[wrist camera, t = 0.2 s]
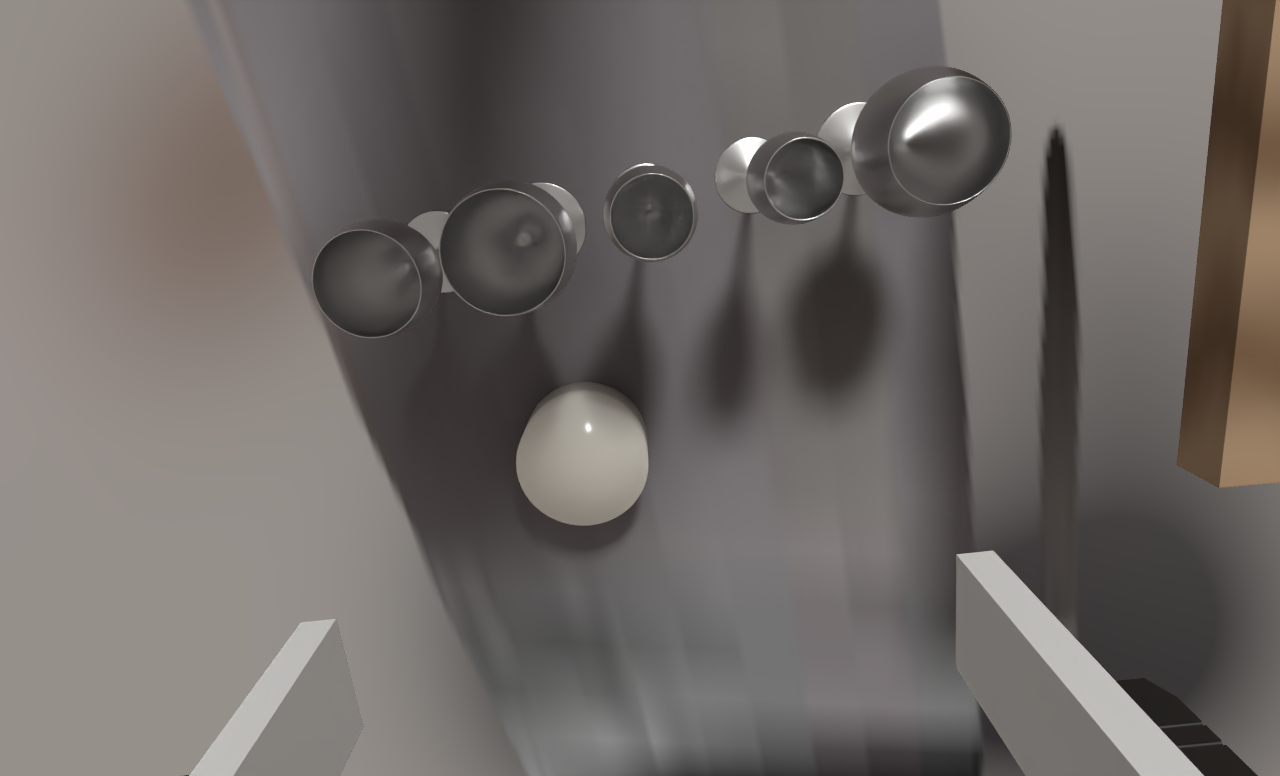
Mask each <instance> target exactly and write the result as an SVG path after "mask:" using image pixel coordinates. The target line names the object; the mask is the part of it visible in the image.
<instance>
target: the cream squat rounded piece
mask: <svg viewBox="0 0 1280 776" xmlns="http://www.w3.org/2000/svg"><path fill="white" fill-rule="evenodd" d="M648 467H649V466H648V444H647V431H646V426H645V423H644V420H643V418H642V416H641V414H640V412H639V410H638V409H637V407H636V406H635V405H634V404H633V402H632V401H631V400H630V399H629V398H628V397H626V396H625V395H624V394H623V393H621V392H620V391H618V390H616V389H614V388H612V387H610V386H607V385H604V384H600V383H595V382H577V383H571V384H568V385H564V386H562V387H560V388H557V389H555V390H554V391H552V392H551V393H549V394H548V395H547V396H545V397H544V398H543V399H542V400H541V401H540V402H539V403H538V405H537V406H536V408H535V409H534V411H533V412H532V414H531V416H530V419H529V421H528V424H527V426H526V428H525V431H524V433H523V436H522V438H521V440H520V443H519V446H518V450H517V455H516V470H517V475H518V480H519V482H520V485H521V488H522V489H523V491H524V493H525V495H526V496H527V498H528V499H529V500H530V502H531V503H532V504H533V505H534V506H535V507H536V508H537V509H539V510H540V511H541V512H542V513H544V514H545V515H547V516H549V517H550V518H553V519H555V520H557V521H560V522H563V523H566V524H571V525H580V526H586V525H596V524H600V523H604V522H607V521H610V520H612V519H614V518H616V517H618V516H619V515H621V514H623V513H624V512H625V511H626V510H628V509H629V508H630V507H631V506H632V505H633V504H634V503H635V501H636V500H637V499H638V497H639V496H640V494H641V492H642V491H643V488H644V486H645V483H646V480H647V476H648Z"/></svg>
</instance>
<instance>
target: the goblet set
mask: <svg viewBox="0 0 1280 776" xmlns="http://www.w3.org/2000/svg"><path fill="white" fill-rule="evenodd" d="M1010 144H1011V123H1010V119H1009V115H1008V112H1007V109H1006V107H1005V106H1004V103H1003V101H1002V100H1001V98H1000V97H999V96H998V95H997V93H996V92H995V91H994V90H993V89H992V88H991V87H989V86H988V85H987V84H986V83H984V82H983V81H981V80H980V79H979V78H977V77H975V76H973V75H972V74H970V73H967V72H965V71H962V70H959V69H955V68H951V67H942V66H931V67H923V68H918V69H914V70H911V71H908V72H905V73H903V74H901V75H899V76H897V77H895V78H893V79H891V80H890V81H888V82H887V83H886V84H884V85H883V86H882V87H881V88H880V89H878V90H877V91H876V92H875V93H874V94H873V95H872V97H871V98H870V99H869V100H868V101H867V102H854V103H850V104H847V105H844V106H842V107H840V108H839V109H837V110H836V111H834V112H833V113H832V114H831V115H830V116H829V117H828V118H827V119H826V120H825V121H824V123H823V124H822V126H821V127H820V129H819V131H818V134H817V136H816V135H814V134H811V133H807V132H787V133H783V134H779V135H777V136H775V137H773V138H771V139H769V140H766V139H763V138H759V137H747V138H743V139H740V140H737V141H736V142H734V143H732V144H731V145H730V146H728V147H727V148H726V149H725V150H724V152H723V153H722V154H721V156H720V158H719V160H718V162H717V165H716V169H715V184H716V188H717V191H718V193H719V195H720V197H721V198H722V200H723V201H724V202H725V203H726V204H727V205H728V206H729V207H731V208H732V209H734V210H736V211H739V212H743V213H758V212H761V213H762V214H763V215H764V216H766V217H767V218H769V219H771V220H773V221H775V222H778V223H782V224H789V225H796V224H804V223H807V222H811V221H813V220H815V219H817V218H819V217H821V216H823V215H824V214H826V213H827V212H828V211H829V210H830V209H831V208H832V207H833V206H834V205H835V204H836V202H837V201H838V199H839V198H840V196H841V193H843V194H847V195H863V194H867V195H868V196H869V197H870V198H871V199H872V200H873V201H874V202H876V203H877V204H878V205H880V206H881V207H883V208H884V209H886V210H888V211H891V212H893V213H896V214H899V215H903V216H908V217H932V216H937V215H942V214H945V213H948V212H951V211H953V210H956V209H958V208H960V207H961V206H963V205H965V204H967V203H968V202H970V201H971V200H973V199H974V198H975V197H977V196H978V195H979V194H981V193H982V192H983V191H984V190H985V189H986V188H987V187H988V186H989V185H990V184H991V183H992V182H993V181H994V180H995V178H996V177H997V176H998V174H999V173H1000V171H1001V169H1002V168H1003V166H1004V164H1005V161H1006V159H1007V156H1008V153H1009V149H1010ZM697 221H698V206H697V201H696V198H695V195H694V193H693V191H692V189H691V187H690V186H689V184H688V183H687V182H686V180H685V179H684V178H683V177H681V176H680V175H679V174H678V173H676V172H675V171H673V170H671V169H669V168H666V167H663V166H659V165H656V164H651V163H642V164H637V165H634V166H631V167H629V168H627V169H626V170H624V171H623V172H622V173H621V174H620V175H619V176H618V177H617V179H616V180H615V182H614V184H613V185H612V187H611V188H610V190H609V192H608V194H607V197H606V200H605V204H604V223H605V227H606V230H607V233H608V235H609V237H610V239H611V240H612V242H613V243H614V244H615V246H616V247H617V248H618V249H619V250H620V251H621V252H623V253H624V254H626V255H627V256H629V257H631V258H633V259H636V260H639V261H644V262H658V261H663V260H666V259H669V258H671V257H673V256H675V255H676V254H678V253H679V252H680V251H682V250H683V249H684V248H685V247H686V245H687V244H688V243H689V241H690V240H691V238H692V236H693V234H694V232H695V229H696V226H697ZM585 235H586V221H585V216H584V213H583V211H582V208H581V206H580V205H579V203H578V201H577V200H576V199H575V198H574V196H573V195H572V194H570V193H569V192H568V191H567V190H565V189H564V188H562V187H560V186H558V185H555V184H552V183H547V182H534V183H526V182H522V181H516V180H501V181H494V182H490V183H487V184H484V185H482V186H479V187H477V188H475V189H474V190H472V191H470V192H469V193H468V194H466V195H465V196H464V197H463V198H462V199H461V200H460V201H459V202H458V203H457V204H456V205H455V206H454V207H453V209H452V210H451V212H446V211H428V212H425V213H422V214H420V215H418V216H416V217H415V218H414V219H412V220H411V221H410V222H409V223H408V224H407V225H405V224H402V223H399V222H395V221H390V220H369V221H363V222H360V223H357V224H354V225H351V226H349V227H347V228H345V229H344V230H342V231H341V232H339V233H338V234H336V235H335V236H334V237H332V238H331V239H330V240H329V241H328V242H327V243H326V244H325V245H324V246H323V247H322V248H321V250H320V251H319V253H318V255H317V257H316V259H315V262H314V265H313V269H312V288H313V293H314V296H315V299H316V301H317V303H318V305H319V307H320V309H321V310H322V312H323V313H324V315H325V316H326V317H327V318H328V319H329V320H330V321H331V322H332V323H333V324H334V325H336V326H337V327H338V328H340V329H341V330H343V331H345V332H347V333H349V334H352V335H355V336H358V337H363V338H382V337H388V336H393V335H397V334H400V333H403V332H405V331H407V330H409V329H411V328H413V327H415V326H416V325H418V324H419V323H420V322H422V321H423V320H424V319H425V318H426V317H427V316H428V315H429V314H430V312H431V311H432V310H433V308H434V307H435V305H436V303H437V301H438V299H439V297H440V294H441V293H449V292H455V293H456V294H457V295H458V296H459V297H460V298H461V299H462V300H463V301H464V302H466V303H467V304H469V305H470V306H472V307H473V308H475V309H477V310H479V311H482V312H484V313H487V314H491V315H496V316H517V315H522V314H526V313H530V312H532V311H535V310H537V309H539V308H541V307H543V306H545V305H546V304H548V303H549V302H551V301H552V300H553V299H554V298H555V297H557V296H558V295H559V293H560V292H561V291H562V290H563V289H564V287H565V286H566V284H567V283H568V281H569V279H570V277H571V275H572V272H573V270H574V266H575V262H576V256H577V254H578V253H579V251H580V249H581V247H582V245H583V243H584V239H585Z"/></svg>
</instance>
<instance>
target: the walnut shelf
mask: <svg viewBox="0 0 1280 776" xmlns="http://www.w3.org/2000/svg"><path fill="white" fill-rule="evenodd" d="M1217 56H1218V57H1217V65H1216V75H1215V86H1214V96H1213V106H1212V116H1211V126H1210V137H1209V146H1208V156H1207V166H1206V176H1205V188H1204V197H1203V208H1202V217H1201V227H1200V237H1199V247H1198V248H1199V249H1198V257H1197V268H1196V278H1195V287H1194V298H1193V308H1192V318H1191V328H1190V338H1189V348H1188V359H1187V368H1186V369H1187V370H1186V379H1185V388H1184V399H1183V409H1182V419H1181V429H1180V440H1179V449H1178V460H1177V465H1178V466H1180V467H1182V468H1184V469H1186V470H1187V471H1190V472H1191V473H1193V474H1195V475H1197V476H1198V477H1200V478H1202V479H1204V480H1206V481H1208V482H1210V483H1211V484H1213V485H1215V486H1217V487H1219V488H1223V487H1232V486H1244V485H1254V484H1264V483H1275V482H1280V0H1223V6H1222V15H1221V25H1220V36H1219V45H1218V55H1217Z"/></svg>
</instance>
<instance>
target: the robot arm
mask: <svg viewBox="0 0 1280 776" xmlns="http://www.w3.org/2000/svg"><path fill="white" fill-rule="evenodd" d="M956 668H957V670H958V671H959V673H960V674H961V676H962V678H963V679H964V681H965V682H966V684H967V685H968V687H969V688H970V690H971V692H972V693H973V695H974V696H975V698H976V699H977V701H978V702H979V704H980V706H981V707H982V709H983V710H984V712H985V713H986V715H987V716H988V718H989V719H990V721H991V723H992V724H993V726H994V727H995V729H996V730H997V732H998V733H999V735H1000V736H1001V738H1002V740H1003V741H1004V743H1005V744H1006V746H1007V747H1008V749H1009V751H1010V752H1011V754H1012V755H1013V757H1014V758H1015V760H1016V761H1017V763H1018V764H1019V766H1020V768H1021V769H1022V771H1023V772H1024V774H1025V775H1026V776H1257V775H1256V774H1255V773H1254V772H1253V771H1252V770H1251V769H1250V768H1249V767H1248V766H1247V765H1246V764H1245V763H1244V762H1243V761H1242V760H1241V759H1240V758H1239V757H1238V756H1237V755H1236V754H1235V753H1234V752H1233V751H1232V750H1231V749H1230V748H1229V747H1227V745H1223V744H1222V742H1221V739H1220V738H1218V737H1217V736H1216V735H1215V734H1214V733H1213V732H1212V731H1211V730H1210V729H1209V728H1208V727H1207V726H1206V725H1204V726H1203V725H1202V722H1201V720H1200V719H1199V718H1198V717H1197V716H1196V715H1195V714H1194V713H1193V712H1192V711H1191V710H1190V709H1189V708H1188V707H1187V706H1186V705H1185V704H1184V703H1183V702H1182V701H1181V700H1179V699H1178V697H1176V696H1174V695H1172V694H1171V693H1169V692H1167V691H1166V690H1164V689H1162V688H1160V687H1159V686H1157V685H1155V684H1153V683H1152V682H1150V681H1148V680H1147V679H1145V678H1140V679H1130V680H1120V681H1115V680H1114V679H1113V678H1112V677H1111V676H1110V675H1109V674H1108V673H1107V672H1106V670H1104V668H1103V667H1102V666H1101V665H1100V664H1099V663H1098V662H1097V661H1096V660H1095V659H1094V658H1093V657H1092V656H1091V654H1090V653H1089V652H1088V651H1087V650H1086V649H1085V648H1084V647H1083V646H1082V645H1081V644H1080V643H1079V642H1078V641H1077V640H1076V638H1075V637H1074V636H1073V635H1072V634H1071V633H1070V632H1069V631H1068V630H1067V629H1066V628H1065V627H1064V626H1063V625H1062V624H1061V622H1060V621H1059V620H1058V619H1057V618H1056V617H1055V616H1054V615H1053V614H1052V613H1051V612H1050V611H1049V610H1048V609H1047V607H1046V606H1045V605H1044V604H1043V603H1042V602H1041V601H1040V600H1039V599H1038V598H1037V597H1036V596H1035V595H1034V594H1033V593H1032V592H1031V590H1029V588H1028V587H1027V586H1026V585H1025V584H1024V583H1023V582H1022V581H1021V580H1020V579H1019V578H1018V577H1017V576H1016V574H1015V573H1014V572H1013V571H1012V570H1011V569H1010V568H1009V567H1008V566H1007V565H1006V564H1005V563H1004V562H1003V561H1002V559H1000V557H999V556H998V555H997V554H996V553H995V552H994V551H984V552H975V553H965V554H956ZM362 729H363V723H362V719H361V715H360V711H359V707H358V703H357V699H356V695H355V691H354V687H353V683H352V679H351V675H350V671H349V668H348V663H347V659H346V656H345V652H344V648H343V644H342V640H341V636H340V632H339V628H338V624H337V620H336V619H328V620H319V621H309V622H301V623H300V624H299V625H298V627H297V628H296V630H295V631H294V632H293V634H292V635H291V636H290V638H289V639H288V640H287V642H286V643H285V645H284V646H283V647H282V649H281V650H280V652H279V653H278V654H277V656H276V657H275V658H274V660H273V661H272V662H271V664H270V665H269V667H268V668H267V669H266V671H265V672H264V673H263V675H262V676H261V678H260V679H259V680H258V682H257V683H256V684H255V686H254V687H253V689H252V690H251V692H250V693H249V694H248V695H247V697H246V698H245V700H244V701H243V702H242V704H241V705H240V706H239V708H238V709H237V711H236V712H235V713H234V715H233V716H232V718H231V719H230V720H229V722H228V723H227V724H226V726H225V727H224V728H223V730H222V731H221V733H220V734H219V735H218V737H217V738H216V740H215V741H214V742H213V743H212V745H211V746H210V748H209V749H208V751H207V752H206V753H205V755H204V756H203V757H202V759H201V760H200V761H199V763H198V764H197V766H196V767H195V768H194V770H193V771H192V772H191V774H190V775H186V776H340V775H341V773H342V771H343V768H344V766H345V764H346V762H347V760H348V758H349V756H350V754H351V752H352V749H353V748H354V745H355V743H356V741H357V739H358V737H359V735H360V733H361V731H362Z"/></svg>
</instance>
